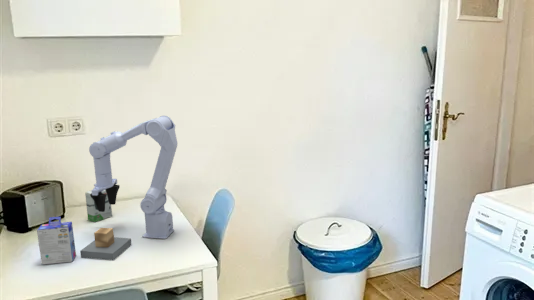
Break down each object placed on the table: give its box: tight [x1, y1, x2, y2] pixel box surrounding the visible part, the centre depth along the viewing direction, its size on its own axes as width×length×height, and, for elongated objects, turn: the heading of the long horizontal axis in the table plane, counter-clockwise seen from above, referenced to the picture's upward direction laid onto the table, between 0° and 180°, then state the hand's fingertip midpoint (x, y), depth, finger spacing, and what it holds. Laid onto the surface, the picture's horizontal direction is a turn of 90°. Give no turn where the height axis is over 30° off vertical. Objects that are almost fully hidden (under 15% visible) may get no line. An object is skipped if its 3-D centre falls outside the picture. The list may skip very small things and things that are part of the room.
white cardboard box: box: [84, 190, 113, 223], centre depth 189 cm, size 9×5×12 cm, turn 143°
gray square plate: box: [79, 236, 132, 261], centre depth 160 cm, size 12×12×3 cm
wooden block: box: [93, 227, 115, 247], centre depth 159 cm, size 4×4×5 cm
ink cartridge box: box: [36, 216, 77, 265], centre depth 152 cm, size 10×6×14 cm, turn 101°
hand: (107, 207), depth 174 cm, fingers open, 7 cm apart
